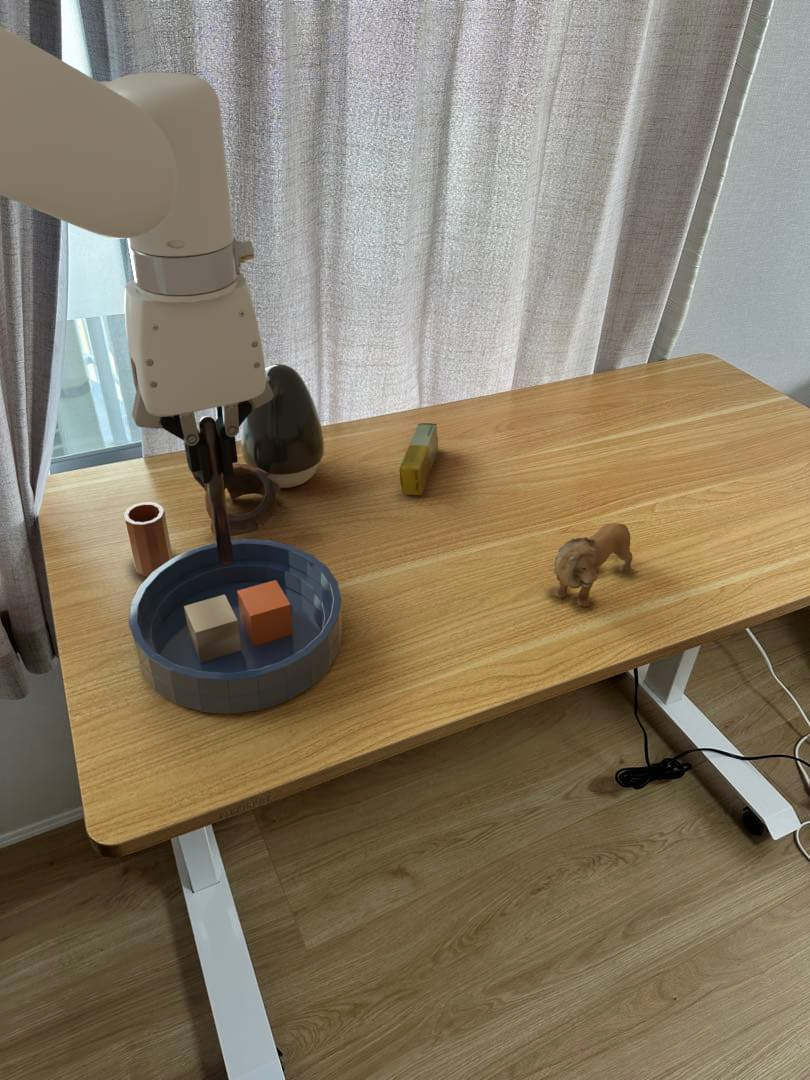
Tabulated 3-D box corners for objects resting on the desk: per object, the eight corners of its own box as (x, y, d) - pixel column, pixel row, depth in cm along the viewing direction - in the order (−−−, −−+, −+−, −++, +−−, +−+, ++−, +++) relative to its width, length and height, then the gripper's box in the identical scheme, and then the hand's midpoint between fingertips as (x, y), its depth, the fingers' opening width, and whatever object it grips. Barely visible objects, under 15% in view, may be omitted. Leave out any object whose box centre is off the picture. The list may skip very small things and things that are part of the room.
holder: (139, 581, 86) (128, 528, 81) (131, 559, 88) (120, 507, 84) (177, 571, 87) (168, 518, 83) (168, 550, 90) (158, 498, 86)
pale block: (200, 663, 76) (195, 632, 73) (189, 636, 79) (183, 605, 76) (241, 650, 77) (237, 620, 75) (229, 624, 80) (224, 594, 78)
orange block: (253, 646, 78) (250, 616, 75) (240, 620, 80) (237, 590, 78) (292, 634, 79) (290, 604, 77) (278, 609, 82) (276, 579, 80)
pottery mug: (300, 506, 98) (294, 476, 91) (257, 569, 95) (247, 544, 87) (218, 461, 100) (206, 428, 92) (173, 521, 97) (156, 492, 89)
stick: (221, 569, 77) (200, 422, 67) (217, 561, 78) (195, 415, 68) (236, 565, 77) (217, 419, 68) (231, 557, 78) (212, 411, 69)
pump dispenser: (258, 450, 107) (249, 343, 98) (334, 461, 106) (332, 353, 97) (230, 492, 99) (217, 379, 90) (311, 504, 98) (306, 391, 89)
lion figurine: (580, 633, 82) (596, 565, 76) (534, 611, 84) (546, 543, 79) (639, 562, 91) (657, 496, 86) (596, 544, 94) (611, 479, 88)
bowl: (166, 747, 69) (157, 708, 66) (119, 607, 82) (109, 569, 79) (374, 675, 76) (374, 637, 73) (299, 557, 90) (297, 521, 87)
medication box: (419, 448, 109) (417, 421, 107) (438, 449, 109) (437, 422, 107) (400, 495, 100) (398, 466, 98) (422, 496, 99) (420, 468, 97)
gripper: (267, 238, 65) (282, 434, 77) (67, 263, 60) (115, 471, 71) (301, 268, 60) (312, 474, 72) (85, 298, 54) (134, 517, 66)
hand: (214, 471), depth 71 cm, fingers closed on stick, 1 cm apart
